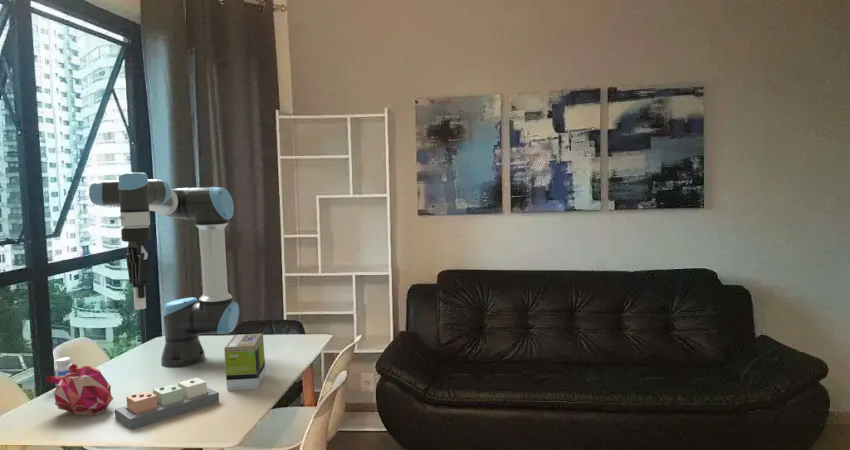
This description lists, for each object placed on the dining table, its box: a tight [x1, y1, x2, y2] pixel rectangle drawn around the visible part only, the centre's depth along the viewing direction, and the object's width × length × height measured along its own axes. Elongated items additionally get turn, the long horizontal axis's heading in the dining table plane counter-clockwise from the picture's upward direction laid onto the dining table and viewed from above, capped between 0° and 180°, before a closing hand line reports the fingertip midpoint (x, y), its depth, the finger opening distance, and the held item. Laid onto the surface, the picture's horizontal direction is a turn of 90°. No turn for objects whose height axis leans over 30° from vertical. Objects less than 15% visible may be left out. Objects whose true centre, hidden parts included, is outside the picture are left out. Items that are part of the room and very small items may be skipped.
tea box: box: [224, 333, 267, 392], centre depth 201 cm, size 15×10×15 cm, turn 5°
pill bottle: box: [54, 356, 72, 388], centre depth 199 cm, size 6×5×10 cm
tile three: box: [126, 390, 157, 415], centre depth 172 cm, size 6×6×4 cm
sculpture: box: [45, 363, 114, 416], centre depth 179 cm, size 14×12×20 cm
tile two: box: [152, 383, 183, 407], centre depth 178 cm, size 6×6×4 cm
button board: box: [114, 386, 220, 430], centre depth 178 cm, size 11×26×3 cm, turn 137°
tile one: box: [177, 377, 208, 399], centre depth 183 cm, size 6×6×4 cm
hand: (140, 308), depth 173 cm, fingers closed
